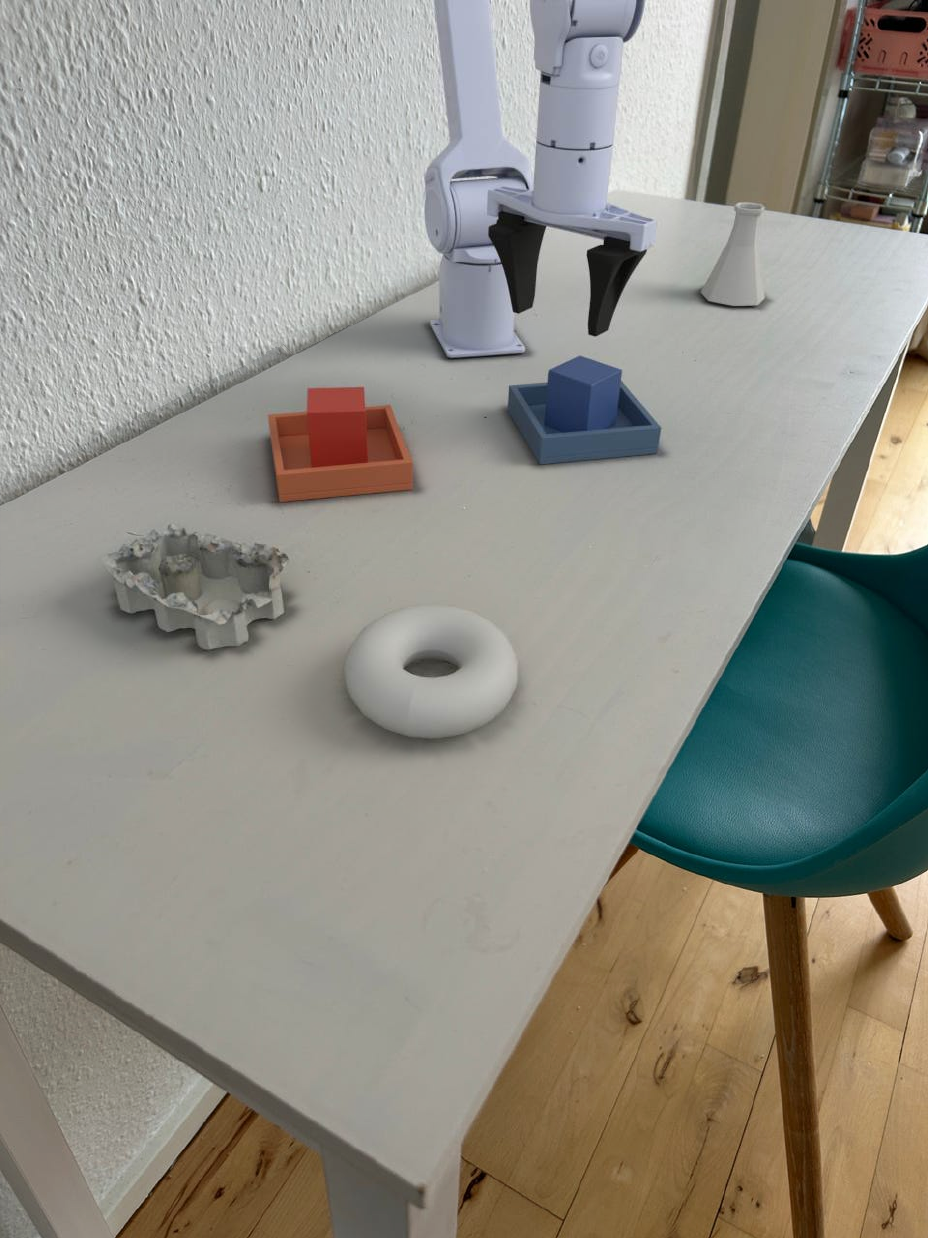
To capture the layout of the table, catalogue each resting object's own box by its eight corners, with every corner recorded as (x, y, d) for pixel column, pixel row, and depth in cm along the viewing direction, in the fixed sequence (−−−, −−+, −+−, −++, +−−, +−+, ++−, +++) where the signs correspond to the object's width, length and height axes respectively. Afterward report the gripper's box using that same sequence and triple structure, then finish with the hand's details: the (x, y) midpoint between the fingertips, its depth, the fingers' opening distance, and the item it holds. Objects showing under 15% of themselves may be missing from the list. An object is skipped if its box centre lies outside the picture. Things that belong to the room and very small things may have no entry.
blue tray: (507, 410, 85) (508, 385, 84) (615, 401, 87) (618, 376, 85) (539, 464, 77) (541, 437, 76) (657, 453, 79) (661, 427, 78)
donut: (505, 635, 60) (345, 638, 59) (509, 590, 58) (343, 593, 57) (527, 749, 52) (343, 755, 51) (532, 703, 50) (340, 708, 49)
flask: (765, 311, 106) (786, 217, 100) (699, 305, 107) (716, 211, 101) (762, 289, 112) (782, 199, 106) (700, 284, 113) (715, 194, 107)
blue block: (543, 425, 82) (548, 369, 78) (574, 409, 84) (579, 354, 81) (585, 441, 79) (591, 385, 76) (615, 424, 82) (622, 369, 79)
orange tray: (270, 440, 80) (267, 414, 78) (391, 430, 81) (390, 404, 80) (279, 502, 72) (276, 474, 70) (412, 489, 74) (412, 462, 72)
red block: (312, 445, 78) (307, 387, 75) (366, 443, 78) (364, 386, 75) (311, 471, 74) (306, 412, 71) (368, 469, 75) (365, 410, 72)
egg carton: (302, 606, 62) (297, 554, 59) (215, 667, 57) (206, 613, 54) (189, 550, 66) (179, 499, 64) (100, 602, 61) (86, 549, 59)
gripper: (686, 148, 70) (659, 328, 78) (526, 120, 77) (517, 288, 85) (637, 165, 66) (614, 354, 74) (472, 133, 73) (468, 309, 81)
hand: (559, 320), depth 79 cm, fingers open, 7 cm apart
